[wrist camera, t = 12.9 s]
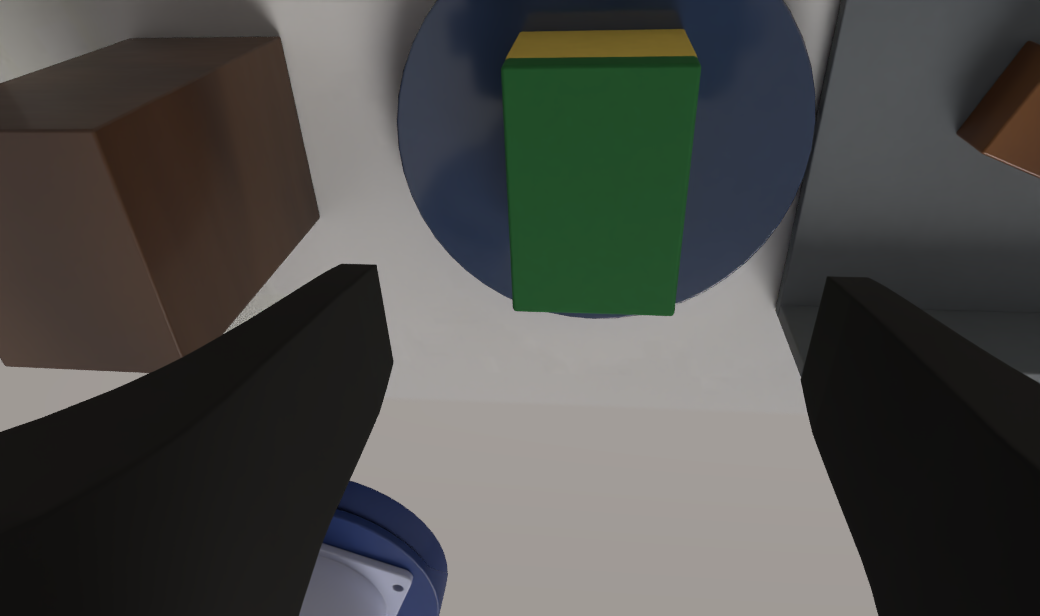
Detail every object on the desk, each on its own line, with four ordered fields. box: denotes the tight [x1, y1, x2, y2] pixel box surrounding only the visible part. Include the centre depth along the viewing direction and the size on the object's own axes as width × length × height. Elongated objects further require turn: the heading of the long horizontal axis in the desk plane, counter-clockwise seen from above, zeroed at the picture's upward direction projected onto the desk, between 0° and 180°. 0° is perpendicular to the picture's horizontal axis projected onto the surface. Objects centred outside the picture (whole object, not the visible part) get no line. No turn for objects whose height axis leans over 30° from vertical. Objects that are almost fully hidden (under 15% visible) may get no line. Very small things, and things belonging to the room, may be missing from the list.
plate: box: [397, 0, 815, 319], centre depth 18 cm, size 11×11×1 cm
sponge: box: [501, 29, 701, 316], centre depth 16 cm, size 4×6×4 cm, turn 2°
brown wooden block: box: [0, 36, 320, 373], centre depth 17 cm, size 4×6×8 cm
